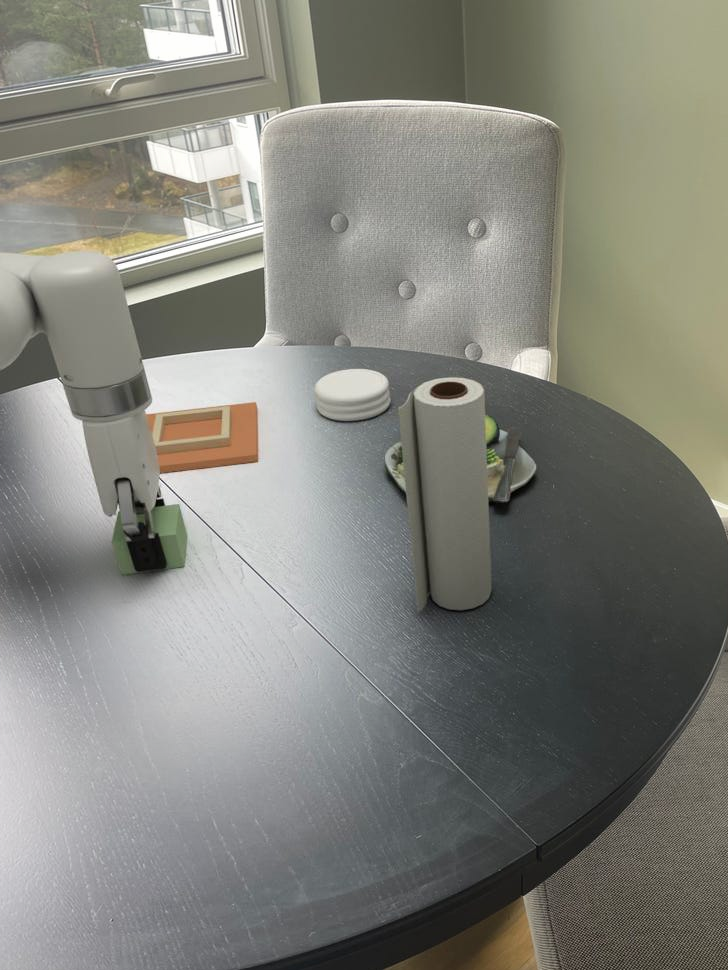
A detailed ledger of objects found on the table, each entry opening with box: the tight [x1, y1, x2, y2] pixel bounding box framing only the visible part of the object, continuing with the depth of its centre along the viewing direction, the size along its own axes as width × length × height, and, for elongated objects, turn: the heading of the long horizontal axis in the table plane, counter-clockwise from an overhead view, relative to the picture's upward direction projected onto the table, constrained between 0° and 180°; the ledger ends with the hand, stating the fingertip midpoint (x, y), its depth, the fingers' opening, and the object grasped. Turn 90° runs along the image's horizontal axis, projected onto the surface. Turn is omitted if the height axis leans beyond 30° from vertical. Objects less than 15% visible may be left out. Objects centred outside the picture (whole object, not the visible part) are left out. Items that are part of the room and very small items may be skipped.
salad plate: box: [383, 413, 537, 504], centre depth 113 cm, size 19×18×5 cm
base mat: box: [146, 401, 259, 474], centre depth 124 cm, size 16×16×2 cm
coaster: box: [313, 368, 391, 422], centre depth 130 cm, size 10×10×4 cm
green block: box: [111, 503, 188, 576], centre depth 102 cm, size 6×6×4 cm
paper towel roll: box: [397, 376, 493, 613], centre depth 89 cm, size 7×6×21 cm
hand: (154, 549), depth 103 cm, fingers closed on green block, 6 cm apart
